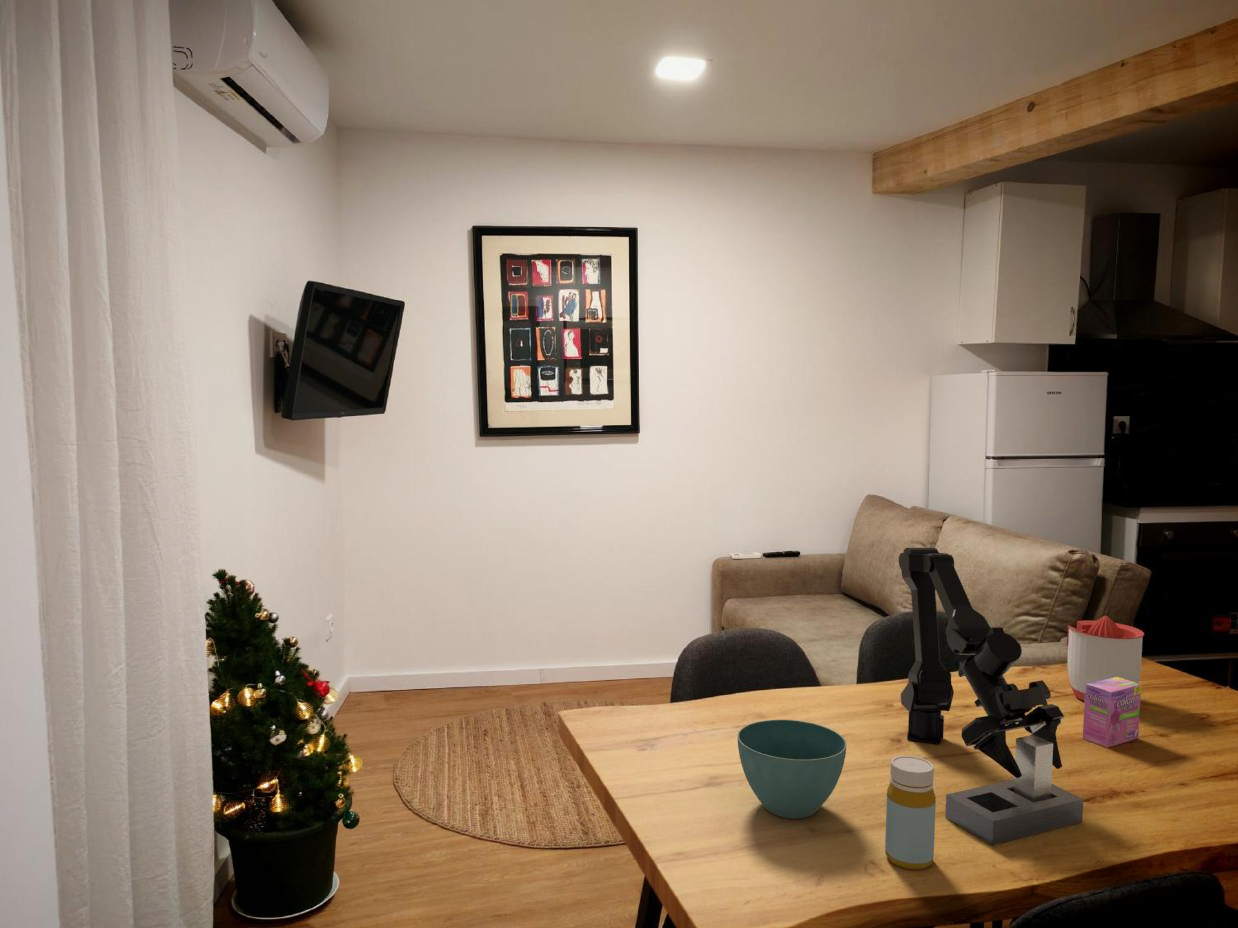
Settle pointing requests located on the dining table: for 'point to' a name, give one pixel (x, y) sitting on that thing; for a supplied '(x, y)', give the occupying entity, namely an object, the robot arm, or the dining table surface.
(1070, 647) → the citrus juicer
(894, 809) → the bottle
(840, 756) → the teal bowl
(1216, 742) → the dining table surface
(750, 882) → the dining table surface
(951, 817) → the grey flat block
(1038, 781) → the peg
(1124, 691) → the box
